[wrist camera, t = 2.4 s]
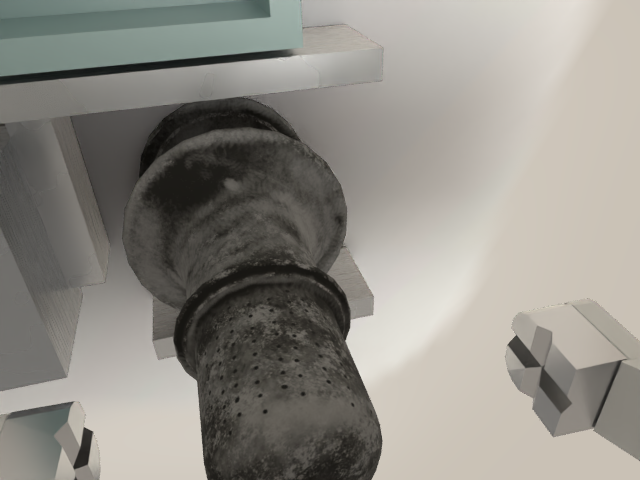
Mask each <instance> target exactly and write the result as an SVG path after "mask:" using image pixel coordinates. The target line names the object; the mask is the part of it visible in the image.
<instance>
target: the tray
mask: <svg viewBox="0 0 640 480" xmlns="http://www.w3.org/2000/svg"><path fill="white" fill-rule="evenodd" d="M293 48H303V32H302V10H301V0H0V76H9V75H19V74H30V73H40V72H51V71H62V70H72V69H83V68H93V67H104V66H114V65H125V64H135V63H146V62H156V61H167V60H177V59H188V58H199V57H209V56H220V55H230V54H241V53H251V52H262V51H272V50H283V49H293Z"/></svg>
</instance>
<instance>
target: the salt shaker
mask: <svg viewBox="0 0 640 480" xmlns="http://www.w3.org/2000/svg"><path fill="white" fill-rule="evenodd" d="M346 222H347V207H346V203H345V200H344V196H343V192H342V188H341V185H340V183H339V182H338V180H337V179H336V177H335V176H334V174H333V172H332V171H331V169H330V168H329V166H328V164H327V163H326V162H325V161H324V160H323V159H322V158H321V157H319V156H318V155H317V154H316V153H315V152H314V151H312V150H311V149H310V148H309V147H308V146H307V145H305V144H303V143H301V141H300V139H299V138H298V136H297V135H296V133H295V132H294V130H293V129H292V127H291V125H290V124H289V123H288V122H287V121H286V120H285V119H283V118H282V117H281V116H280V115H279V114H278V113H276V112H275V111H274V110H273V109H271V108H269V107H267V106H265V105H262V104H260V103H258V102H256V101H254V100H250V99H245V98H240V97H234V98H225V99H216V100H207V101H198V102H191V103H189V104H186V105H183V106H182V107H180V108H179V109H177V110H176V111H174V112H173V113H171V114H170V115H169V116H167V117H166V118H164V119H163V121H162V122H161V123H160V124H159V125H158V127H157V128H156V129H155V130H154V131H153V133H152V134H151V135H150V136H149V139H148V141H147V144H146V146H145V148H144V151H143V153H142V155H141V164H140V174H139V180H138V181H137V182H136V184H135V186H134V189H133V191H132V193H131V196H130V198H129V200H128V203H127V205H126V207H125V212H124V224H123V235H122V239H123V243H124V247H125V251H126V255H127V259H128V263H129V265H130V266H131V268H132V270H133V271H134V273H135V274H136V276H137V278H138V279H139V281H140V283H141V284H142V285H143V286H144V287H145V288H146V289H147V290H148V291H149V292H151V293H152V294H153V295H154V296H155V297H156V298H157V299H158V300H160V301H161V302H162V303H164V304H166V305H168V306H170V307H172V308H174V309H176V310H178V311H180V313H179V315H178V317H177V319H176V323H175V330H174V336H173V342H174V346H175V351H176V355H177V359H178V360H179V362H180V363H181V365H182V366H183V368H184V369H185V371H186V372H187V373H188V374H189V375H190V376H192V377H193V378H194V379H195V380H197V384H198V396H199V408H200V420H201V432H202V444H203V456H204V465H205V470H206V474H207V479H208V480H371V479H372V477H373V475H374V473H375V471H376V468H377V465H378V462H379V459H380V456H381V449H382V435H381V429H380V424H379V421H378V418H377V415H376V412H375V410H374V407H373V405H372V403H371V400H370V398H369V396H368V393H367V391H366V389H365V386H364V384H363V382H362V379H361V377H360V375H359V372H358V370H357V368H356V365H355V363H354V361H353V358H352V356H351V354H350V351H349V349H348V347H347V344H346V342H345V340H346V337H347V335H348V332H349V329H350V318H351V310H350V307H349V304H348V301H347V298H346V295H345V293H344V291H343V290H342V289H341V287H340V286H339V285H338V284H337V282H336V281H335V280H334V278H332V277H331V276H329V275H328V274H327V273H328V271H329V270H330V268H331V267H332V265H333V263H334V262H335V260H336V259H337V257H338V256H339V253H340V250H341V247H342V244H343V241H344V238H345V235H346Z"/></svg>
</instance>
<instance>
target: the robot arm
mask: <svg viewBox="0 0 640 480" xmlns="http://www.w3.org/2000/svg"><path fill="white" fill-rule="evenodd" d="M512 330H513V331H514V332H515V334H516V336H515V337H514V338H513V339H512V340H511V341H510V342H509V344H508V345H507V350H506V356H505V358H506V364H507V369H508V372H509V375H510V377H511V379H512V381H513V382H514V384H515V385H516V387H517V388H518V390H519V391H521V392H522V393H524V394H526V395H528V396H530V397H532V398H533V410H534V412H535V413H536V414H537V416H538V417H539V418H540V420H541V421H542V423H543V424H544V425H545V427H546V428H547V429H548V430H549V432H550V433H551V435H552V436H553V437H556V436H561V435H566V434H570V433H575V432H579V431H584V430H588V429H593V428H594V431H595V432H596V433H598V434H600V435H601V436H602V437H604V438H606V439H607V440H609V441H610V442H612V443H613V444H615V445H616V446H618V447H619V448H621V449H623V450H624V451H626V452H627V453H629V454H630V455H632V456H633V457H635V458H636V459H638V460H639V461H640V341H639V340H638V339H636V338H635V337H634V336H633V335H632V334H631V333H630V332H629V331H628V330H627V329H626V328H624V327H623V326H622V325H621V324H620V323H619V322H618V321H617V320H616V319H614V318H613V317H612V316H611V315H610V314H609V313H608V312H607V311H606V310H605V309H603V308H602V307H601V306H600V305H599V304H598V303H597V302H595V301H593V300H591V299H588V298H587V299H582V300H577V301H573V302H568V303H564V304H558V305H553V306H548V307H543V308H539V309H534V310H529V311H525V312H520V313H518V314H517V315H516V316H515V317H514V319H513V323H512ZM85 416H86V414H85V412H84V410H83V408H82V406H81V404H80V402H75V401H74V402H68V403H62V404H57V405H51V406H45V407H39V408H34V409H28V410H22V411H17V412H12V413H8V414H3V415H0V480H99V478H100V453H99V449H98V444H97V440H96V438H95V435H94V433H93V431H91V430H89V429H87V428H85V427H84V422H85Z"/></svg>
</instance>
